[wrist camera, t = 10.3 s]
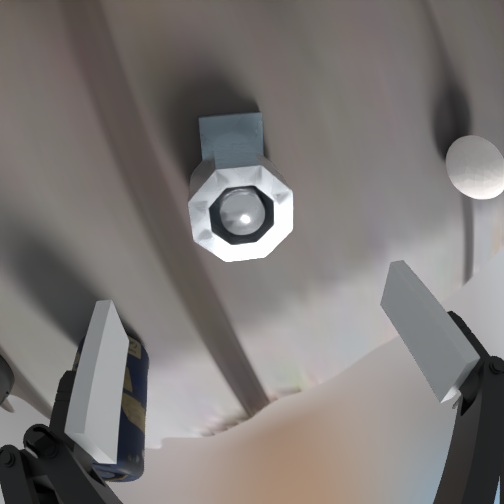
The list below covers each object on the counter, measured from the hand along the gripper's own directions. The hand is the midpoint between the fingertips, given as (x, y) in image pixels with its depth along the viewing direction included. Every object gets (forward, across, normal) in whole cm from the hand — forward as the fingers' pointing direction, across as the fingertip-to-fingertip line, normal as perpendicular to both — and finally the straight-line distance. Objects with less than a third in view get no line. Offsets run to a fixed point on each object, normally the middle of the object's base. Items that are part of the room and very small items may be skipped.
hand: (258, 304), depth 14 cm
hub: (+15, 0, 0) cm, 15 cm away
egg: (+16, +25, +2) cm, 29 cm away
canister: (+16, -16, -20) cm, 31 cm away
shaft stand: (+16, +1, 0) cm, 16 cm away
